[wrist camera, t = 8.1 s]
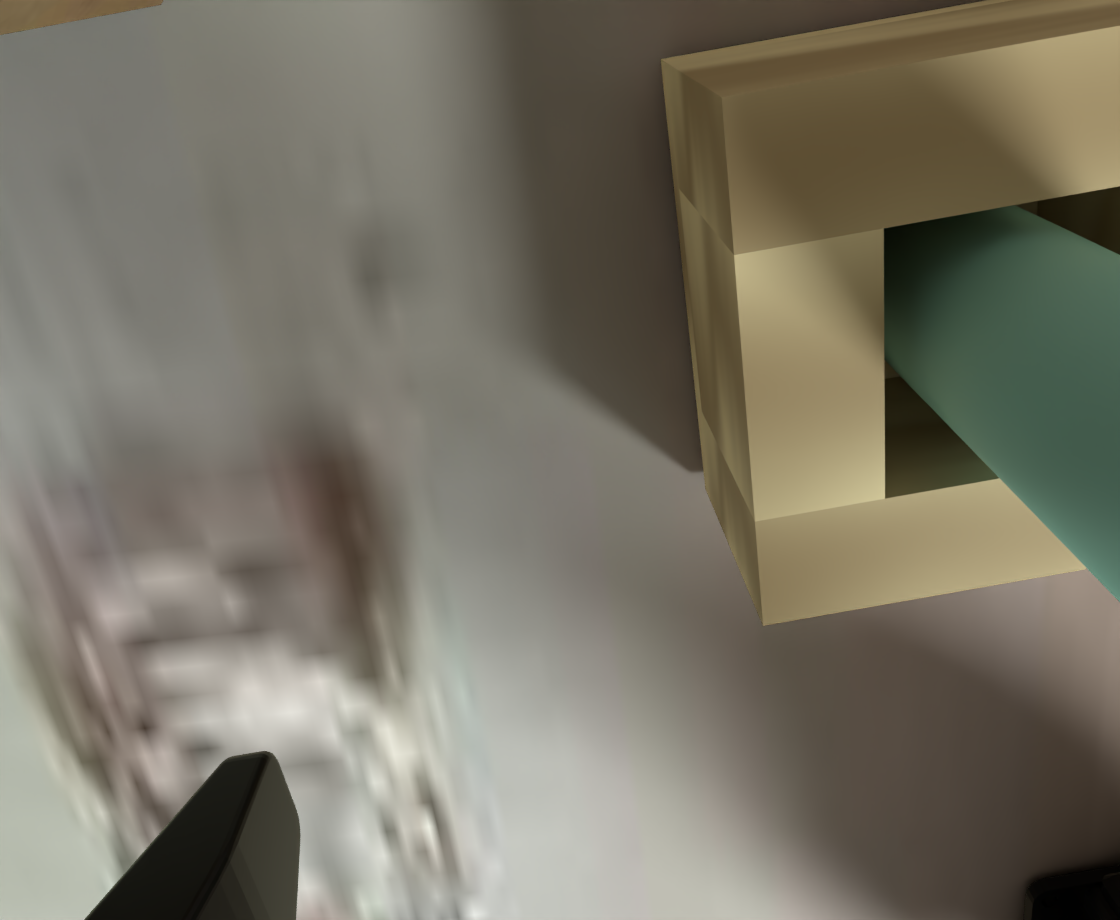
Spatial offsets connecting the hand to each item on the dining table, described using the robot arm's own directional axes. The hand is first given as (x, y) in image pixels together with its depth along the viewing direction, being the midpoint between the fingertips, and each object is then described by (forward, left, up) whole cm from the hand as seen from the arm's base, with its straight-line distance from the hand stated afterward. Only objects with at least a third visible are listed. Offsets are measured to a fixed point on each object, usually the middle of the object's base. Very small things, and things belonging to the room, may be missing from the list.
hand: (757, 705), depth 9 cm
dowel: (0, -6, -11) cm, 13 cm away
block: (0, -6, -12) cm, 14 cm away
